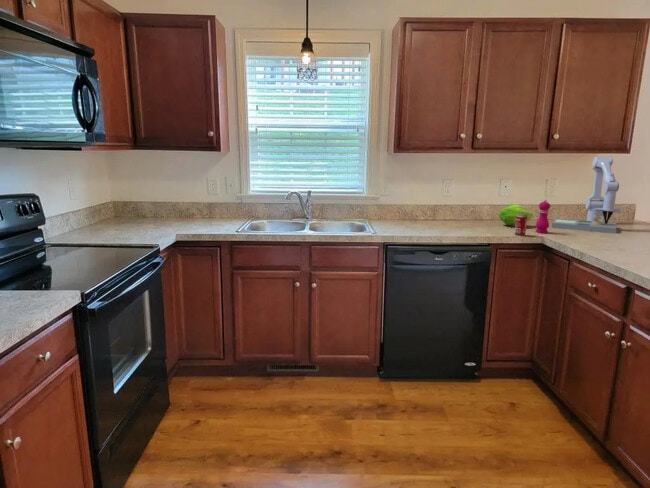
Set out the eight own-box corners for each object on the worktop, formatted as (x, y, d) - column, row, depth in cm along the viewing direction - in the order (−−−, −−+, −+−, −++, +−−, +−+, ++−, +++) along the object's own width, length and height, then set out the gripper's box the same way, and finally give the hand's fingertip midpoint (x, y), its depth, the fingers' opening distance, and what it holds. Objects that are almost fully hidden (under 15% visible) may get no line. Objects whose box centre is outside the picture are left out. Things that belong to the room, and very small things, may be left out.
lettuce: (534, 229, 267) (533, 208, 262) (500, 231, 275) (498, 212, 270) (532, 219, 280) (531, 200, 274) (499, 222, 287) (497, 203, 282)
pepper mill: (537, 233, 252) (540, 199, 248) (533, 231, 259) (536, 198, 255) (550, 233, 251) (554, 200, 247) (545, 231, 258) (549, 198, 254)
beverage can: (518, 233, 252) (520, 213, 249) (527, 235, 247) (529, 214, 244) (512, 234, 249) (514, 214, 246) (520, 236, 244) (522, 215, 241)
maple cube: (602, 223, 267) (603, 216, 266) (602, 225, 263) (603, 217, 262) (592, 223, 270) (594, 215, 269) (592, 224, 266) (593, 216, 265)
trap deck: (615, 227, 271) (616, 223, 270) (615, 233, 253) (616, 228, 252) (555, 222, 289) (556, 218, 288) (551, 227, 271) (552, 222, 271)
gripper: (595, 201, 262) (592, 223, 265) (623, 203, 254) (620, 225, 257) (595, 200, 267) (592, 221, 270) (623, 201, 259) (620, 223, 262)
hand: (606, 223), depth 264 cm, fingers closed
